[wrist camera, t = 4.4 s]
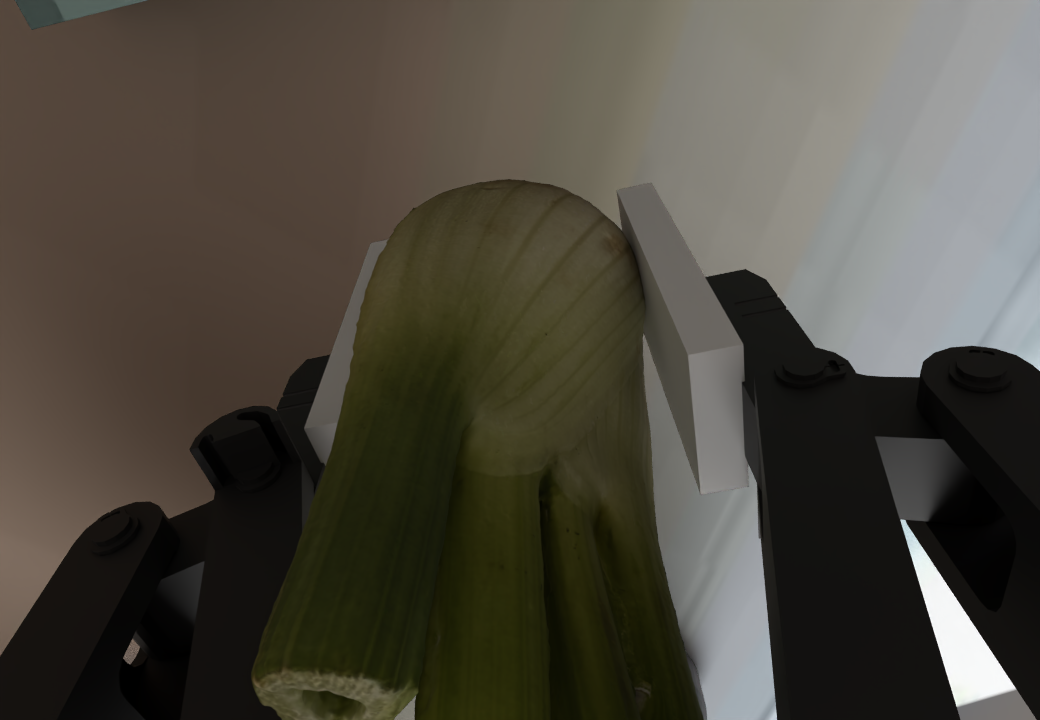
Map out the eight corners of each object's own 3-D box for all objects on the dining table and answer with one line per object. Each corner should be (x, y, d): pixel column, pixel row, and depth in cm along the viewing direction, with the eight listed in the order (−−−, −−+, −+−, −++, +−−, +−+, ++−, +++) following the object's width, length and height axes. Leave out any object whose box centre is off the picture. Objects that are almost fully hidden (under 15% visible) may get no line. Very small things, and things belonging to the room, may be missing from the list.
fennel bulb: (371, 181, 15) (124, 746, 5) (590, 103, 14) (828, 581, 4) (468, 386, 18) (438, 992, 8) (652, 331, 17) (875, 922, 7)
